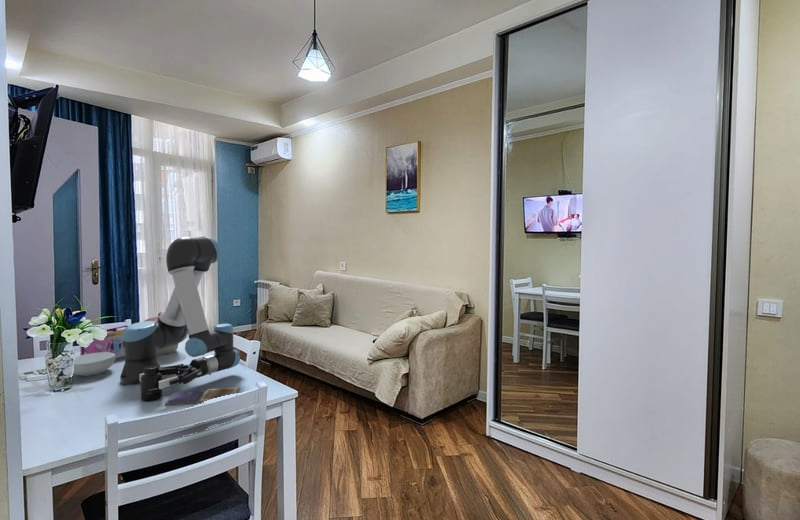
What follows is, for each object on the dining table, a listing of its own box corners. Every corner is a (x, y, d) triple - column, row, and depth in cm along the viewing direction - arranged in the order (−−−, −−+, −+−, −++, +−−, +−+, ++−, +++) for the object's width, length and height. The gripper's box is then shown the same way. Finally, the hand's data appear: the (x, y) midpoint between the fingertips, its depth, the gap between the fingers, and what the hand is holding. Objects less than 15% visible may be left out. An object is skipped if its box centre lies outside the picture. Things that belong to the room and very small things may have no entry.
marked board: (197, 403, 149) (197, 401, 149) (206, 391, 161) (205, 388, 161) (233, 401, 152) (233, 398, 152) (239, 388, 164) (239, 386, 164)
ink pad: (164, 405, 147) (164, 401, 147) (174, 395, 157) (173, 391, 157) (195, 403, 149) (195, 399, 149) (202, 393, 159) (202, 389, 159)
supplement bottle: (152, 403, 150) (151, 370, 149) (136, 401, 151) (135, 369, 150) (166, 396, 156) (165, 364, 156) (151, 394, 158) (150, 363, 157)
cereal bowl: (86, 367, 189) (85, 352, 189) (123, 366, 190) (123, 351, 190) (57, 380, 172) (56, 363, 172) (99, 379, 173) (98, 363, 173)
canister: (188, 347, 223) (188, 309, 222) (172, 357, 205) (171, 315, 204) (154, 347, 222) (153, 309, 221) (134, 357, 204) (133, 315, 203)
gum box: (88, 366, 191) (87, 337, 190) (76, 364, 194) (75, 335, 193) (137, 352, 213) (136, 326, 213) (126, 350, 216) (125, 325, 215)
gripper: (222, 381, 164) (168, 398, 146) (186, 369, 177) (132, 384, 159) (221, 362, 163) (167, 378, 145) (185, 352, 176) (132, 365, 158)
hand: (149, 381), depth 152 cm, fingers open, 13 cm apart
